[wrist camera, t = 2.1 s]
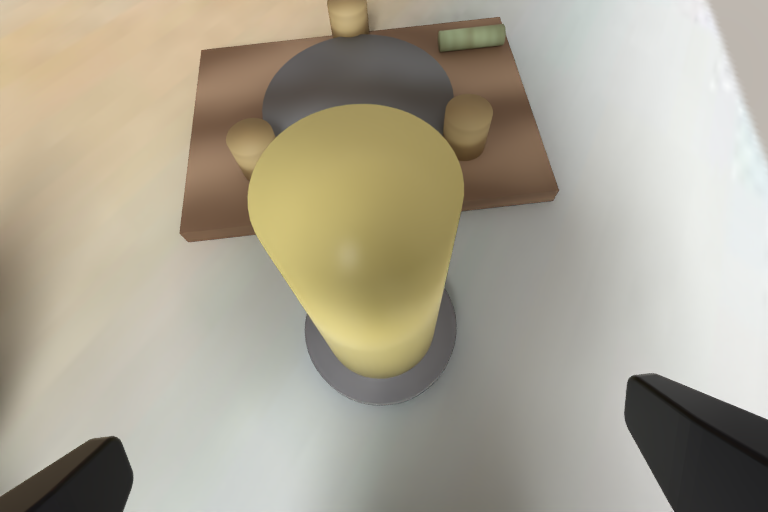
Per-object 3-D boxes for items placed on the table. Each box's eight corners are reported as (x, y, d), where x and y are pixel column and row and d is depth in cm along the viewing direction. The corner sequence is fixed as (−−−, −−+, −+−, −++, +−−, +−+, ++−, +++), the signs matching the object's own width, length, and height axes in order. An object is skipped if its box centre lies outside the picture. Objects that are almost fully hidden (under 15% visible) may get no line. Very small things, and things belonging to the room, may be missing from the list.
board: (552, 200, 23) (576, 160, 20) (188, 242, 23) (154, 207, 20) (494, 23, 30) (505, -28, 27) (208, 55, 30) (185, 7, 26)
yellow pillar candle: (466, 396, 19) (545, 311, 8) (311, 414, 19) (189, 351, 8) (441, 256, 22) (475, 62, 11) (307, 271, 22) (214, 91, 11)
